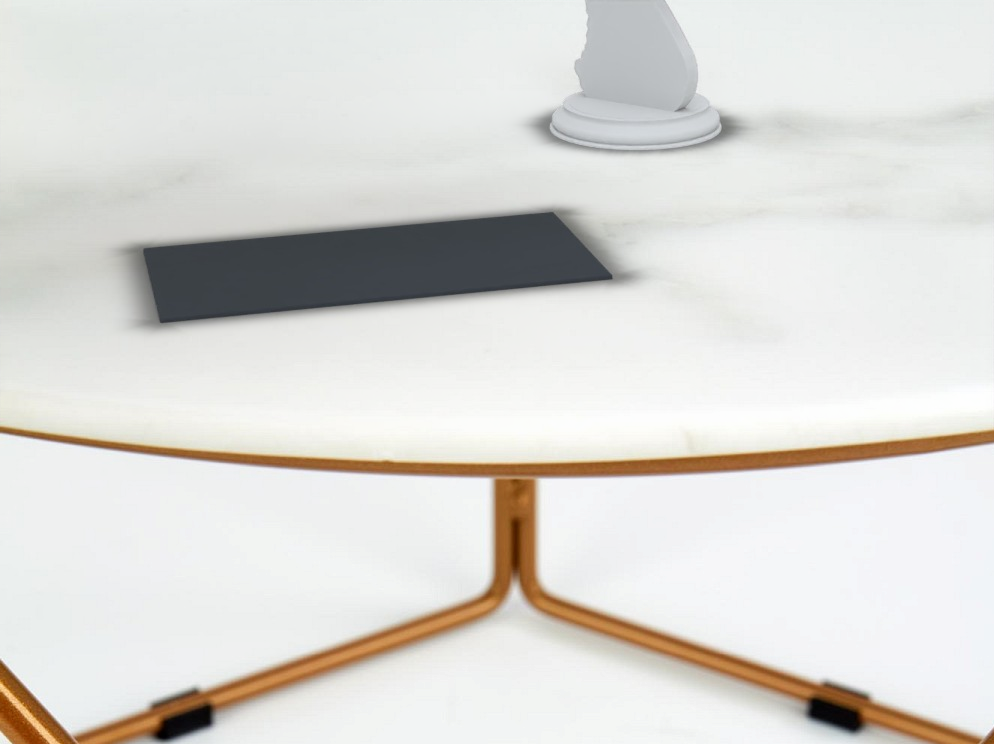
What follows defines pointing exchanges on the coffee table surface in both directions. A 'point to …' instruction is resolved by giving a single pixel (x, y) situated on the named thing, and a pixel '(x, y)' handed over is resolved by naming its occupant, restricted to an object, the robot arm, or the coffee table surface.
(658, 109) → the chess piece
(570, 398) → the coffee table surface
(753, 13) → the coffee table surface
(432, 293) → the slate mat
